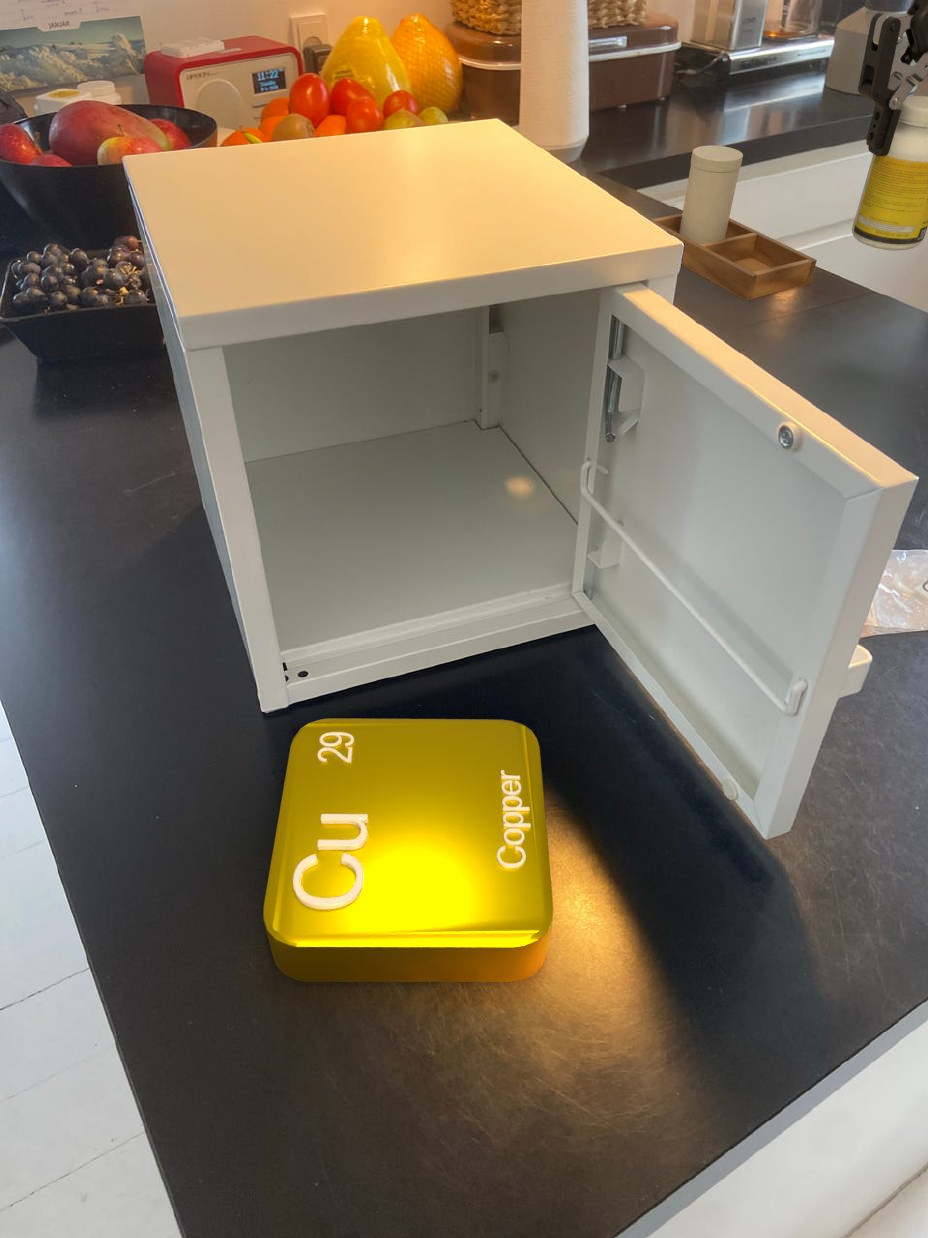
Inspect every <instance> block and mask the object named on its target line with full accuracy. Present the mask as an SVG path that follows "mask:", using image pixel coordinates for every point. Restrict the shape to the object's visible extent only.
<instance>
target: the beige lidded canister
mask: <svg viewBox="0 0 928 1238" xmlns="http://www.w3.org/2000/svg"><path fill="white" fill-rule="evenodd" d="M743 157H744V154H743V152H741V151H740V150H739V149H736V148H733V147H728V146H723V145H702V146H698V147H695V148H694V149H693V150H692V153H691V158H690V168H689V174H688V180H687V186H686V192H685V196H684V203H683V209H682V213H683V214H682V219H681V225H680V231H679V234H680V235H682V236H684V237H686V238H688V239H690V240H692V241H694V242H695V243H697V244H699V245H700V244H704V243H709V242H713V241H718V240H722V239H725V236H726V231H727V226H728V221H729V218H730V216H731V212H732V206H733V201H734V197H735V192H736V187H737V182H738V178H739V172H740V169H741V168H742V162H743Z"/></svg>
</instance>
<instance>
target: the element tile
mask: <svg viewBox="0 0 928 1238" xmlns="http://www.w3.org/2000/svg"><path fill="white" fill-rule="evenodd" d="M540 747H541V746H540V745H539V741H538V738H537V736H536V735H535V734H534V732H533V730H532V729H530V728H529V727H528V726H526V725H524V724H523V723H520V722H517V721H515V720H510V719H509V720H508V719H488V718H487V719H485V718H484V719H479V718H478V719H477V718H476V719H474V718H473V719H469V718H468V719H467V718H465V719H464V718H460V719H459V718H452V719H451V718H450V719H449V718H329V717H328V718H322V719H318V720H315V721H312V722H308V723H307V724H305V725H304V726H302V727H300V729H299V730H298V732H297V733H296V734H295V735H294V737H293V738H292V741H291V744H290V748H289V753H288V759H287V765H286V771H285V776H284V777H285V778H284V784H283V788H282V789H283V790H282V795H281V801H280V807H279V813H278V819H277V825H276V831H275V837H274V842H273V849H272V853H271V854H272V855H271V859H270V865H269V871H268V878H267V884H266V889H265V895H264V901H263V906H262V907H263V909H262V912H263V913H262V917H263V918H262V920H263V924H264V927H265V931H266V935H267V939H268V943H269V947H270V951H271V955H272V958H273V961H274V963H275V966H276V967H277V968H278V970H279V971H280V972H281V973H282V974H283V975H284V976H287V977H288V978H291V979H293V980H296V981H298V982H303V983H516V982H520V981H523V980H526V979H528V978H530V977H533V976H534V975H535V974H537V972H538V971H540V969H541V968H542V967H543V966H544V962H545V961H546V957H547V955H548V951H549V945H550V939H551V932H552V926H553V920H554V899H553V887H552V885H553V884H552V875H551V863H550V850H549V840H548V839H549V838H548V829H547V828H548V827H547V817H546V816H547V815H546V806H545V805H546V804H545V791H544V782H543V781H544V780H543V770H542V759H541V748H540Z"/></svg>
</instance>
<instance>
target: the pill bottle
mask: <svg viewBox="0 0 928 1238" xmlns="http://www.w3.org/2000/svg"><path fill="white" fill-rule="evenodd" d="M898 109H900V110H901V114H900V117H899V120H898V124H897V127H896V130H895V134H894V137H893V140H892V144H891V147H890V150H889V153H888V155H886V156H876V155H875V154H873V153H872V157H871V160H870V165H869V168H868V171H867V174H866V179H865V182H864V185H863V189H862V193H861V195H860V198H859V203H858V206H857V210H856V214H855V216H854V220H853V223H852V227H851V233H852V236H853V238H854V239H855V240H856V241H858V242H859V243H861V244H863V245H865V246H867V247H871V248H875V249H879V250H884V251H907V250H911V249H914V248H917V247H918V246H920V245H921V244H922V242H923V241H924V239H925V236H926V233H927V231H928V96H926V95H912V96H911V95H910V96H909V95H908V96H907V98H906V99H905V101H904V102H903V103H902V105H901V106H900V107H899V108H898Z"/></svg>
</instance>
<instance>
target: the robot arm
mask: <svg viewBox="0 0 928 1238" xmlns="http://www.w3.org/2000/svg"><path fill="white" fill-rule="evenodd" d="M904 34H905V36H906V39H907V41H906V43H905V44H904V45H903V47H902V48H901V50H900V51H899V53H898V54H897V56H896V57H895V55H896V50H897V46H898V45H900V44H901V43H902V42H903V39H904V38H903V35H904ZM912 62H914V63H915V64H914V65H911V63H912ZM861 65H862V66H861V71H860V76H859V81H858V85H857V86H858V87H857V92H858V94H859V95H861V96H862V97H865V98H867V99H868V100H871V101H873V103H874V109H873V113H872V116H871V120H870V123H869V127H868V131H867V134H866V137H865V138H866V139H865V143H866V146H867V147H868V149H867V150H868V152H870V153H871V154H872V155H873V154H875V155H876V156H886V155H888V153H889V150H890V147H891V144H892V140H893V137H894V134H895V130H896V127H897V124H898V120H899V117H900V114H901V110H900V109H898V108H899V107H900V106H901V105H902V103H903V102H904V101H905V99H906V98H907V97H909V95H910V94H911V93H912V91H913V90H914V88H915V87H916V86H917V85H920V84H922V83H923V82H924V81H925V79H926V78H927V77H928V0H913V2H912V3H911V5H910V7H909V8H908V9H907V11H906V12H904V13H898V14H892V15H888V14H886V13H883V12H877V13H875V14H874V15H873V16H872V18H871V20H870V24H869V29H868V34H867V39H866V44H865V50H864V55H863V60H862V64H861Z"/></svg>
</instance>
